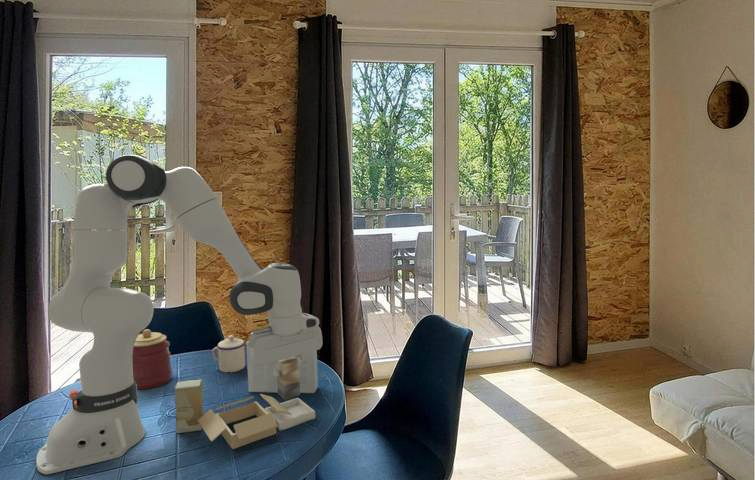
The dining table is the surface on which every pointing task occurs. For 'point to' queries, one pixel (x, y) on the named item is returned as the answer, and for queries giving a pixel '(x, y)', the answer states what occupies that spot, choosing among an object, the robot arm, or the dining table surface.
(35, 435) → the dining table surface
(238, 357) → the teacup with lid
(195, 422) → the skincare box
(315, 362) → the skincare box
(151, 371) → the canister
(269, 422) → the carton
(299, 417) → the tray
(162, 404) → the dining table surface
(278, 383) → the chunky box
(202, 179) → the robot arm
